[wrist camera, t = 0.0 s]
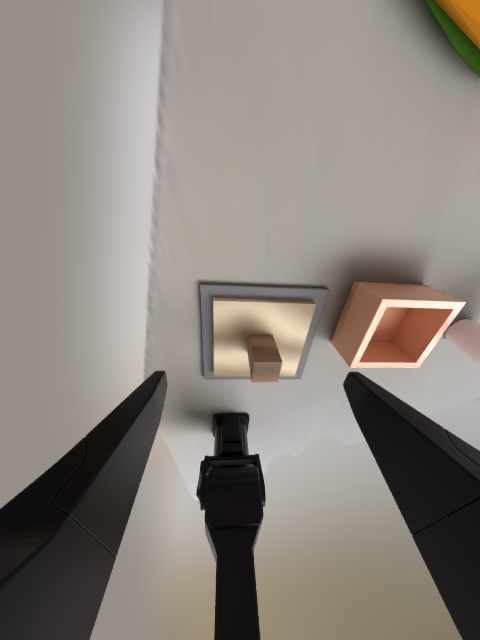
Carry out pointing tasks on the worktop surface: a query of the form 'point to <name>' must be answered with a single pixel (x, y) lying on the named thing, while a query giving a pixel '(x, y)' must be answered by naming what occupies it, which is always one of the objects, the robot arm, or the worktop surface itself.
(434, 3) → the corn
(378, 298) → the open box
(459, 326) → the smoothie
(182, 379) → the worktop surface
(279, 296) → the mat
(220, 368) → the lid
